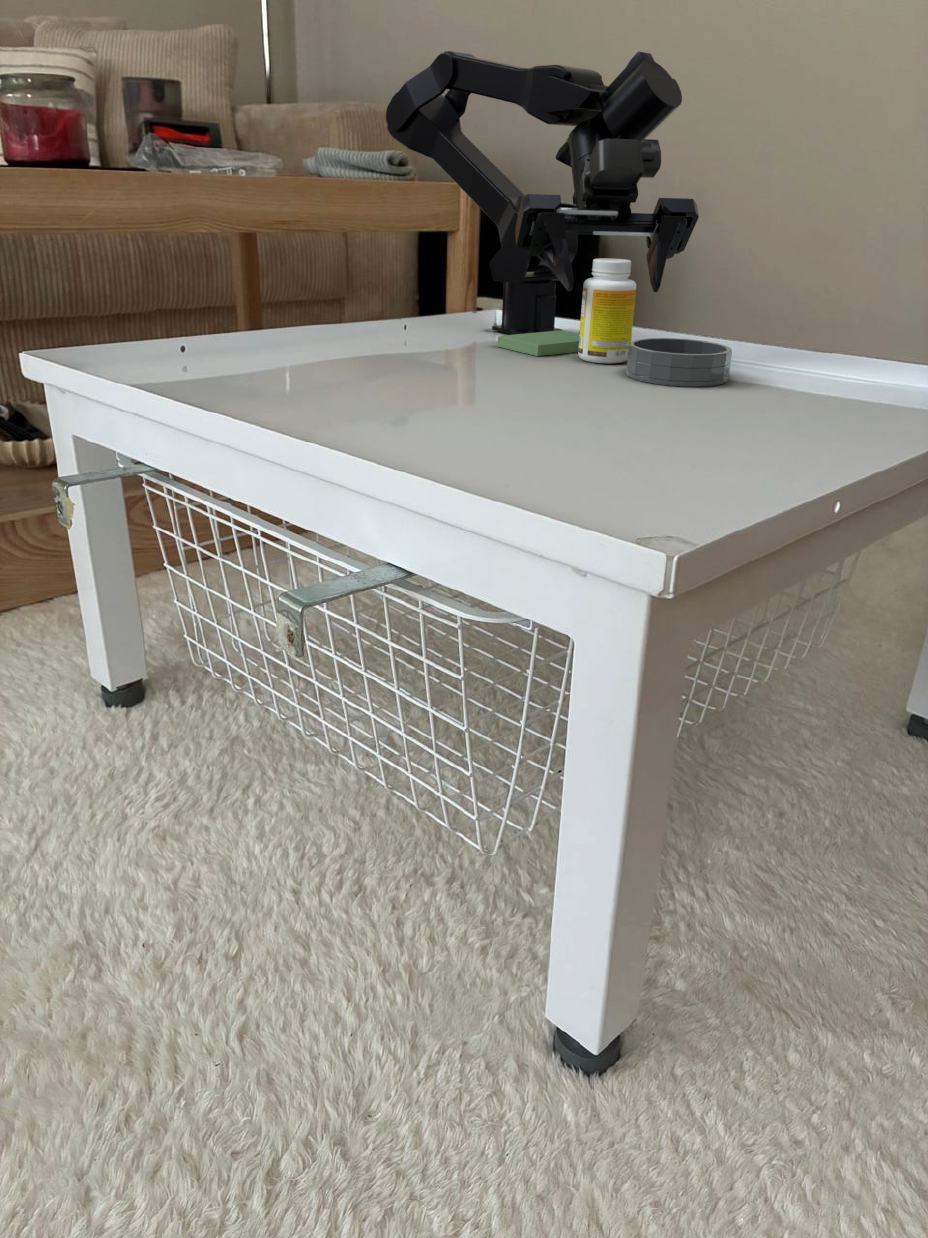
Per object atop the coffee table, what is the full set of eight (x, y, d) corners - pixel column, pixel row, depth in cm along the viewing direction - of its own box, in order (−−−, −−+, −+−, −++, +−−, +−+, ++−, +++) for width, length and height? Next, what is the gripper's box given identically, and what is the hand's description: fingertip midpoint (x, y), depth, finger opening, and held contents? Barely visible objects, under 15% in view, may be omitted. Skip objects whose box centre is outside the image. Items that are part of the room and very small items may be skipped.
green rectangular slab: (497, 346, 109) (497, 335, 108) (561, 340, 114) (562, 329, 114) (537, 356, 104) (538, 344, 103) (602, 349, 109) (603, 338, 109)
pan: (605, 372, 96) (608, 342, 95) (671, 364, 102) (675, 335, 101) (681, 390, 89) (685, 358, 88) (747, 380, 95) (752, 349, 93)
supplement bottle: (639, 362, 102) (650, 261, 98) (597, 366, 99) (607, 262, 95) (607, 354, 106) (617, 256, 102) (567, 357, 104) (574, 257, 99)
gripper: (525, 105, 95) (538, 230, 90) (705, 112, 97) (728, 235, 92) (510, 189, 105) (520, 306, 100) (672, 194, 108) (691, 309, 102)
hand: (614, 288), depth 98 cm, fingers open, 9 cm apart
